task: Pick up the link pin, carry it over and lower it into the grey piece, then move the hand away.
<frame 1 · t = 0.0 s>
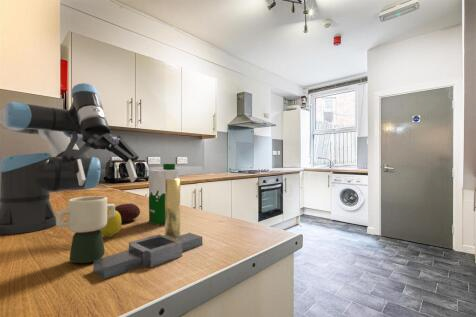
hand: (110, 181, 66), 15 cm above the counter, tool tilted 35°, fingers open, 13 cm apart
lemon: (110, 238, 65), on the counter
potato: (126, 222, 82), on the counter
grey piece: (155, 256, 52), on the counter
character mug: (87, 261, 50), on the counter
milk carton: (162, 222, 82), on the counter
link pin: (172, 237, 65), on the counter
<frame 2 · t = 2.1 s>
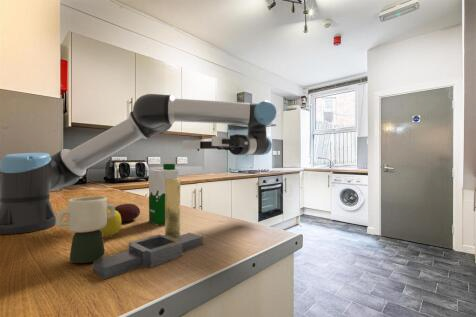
hand: (197, 142, 72), 27 cm above the counter, tool horizontal, fingers open, 13 cm apart
nothing on the counter moved.
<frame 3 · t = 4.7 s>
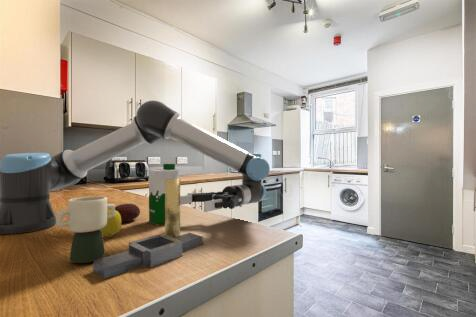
hand: (188, 203, 68), 9 cm above the counter, tool horizontal, fingers open, 13 cm apart
nothing on the counter moved.
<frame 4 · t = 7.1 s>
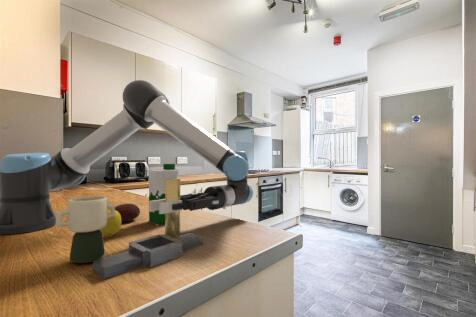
hand: (155, 207, 61), 9 cm above the counter, tool horizontal, fingers closed on link pin, 4 cm apart
link pin: (172, 237, 65), on the counter, touching gripper
everything else where it was.
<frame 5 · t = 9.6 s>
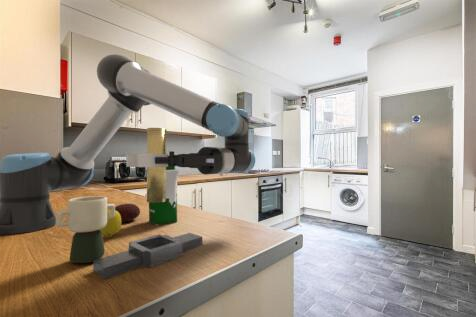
hand: (132, 160, 48), 21 cm above the counter, tool horizontal, fingers closed on link pin, 4 cm apart
link pin: (156, 201, 52), point 12 cm above the counter, touching gripper
everything else where it was.
when the fingers open (10 cm above the counter, at t = 12.2 s): link pin stays where it is, resting in grey piece.
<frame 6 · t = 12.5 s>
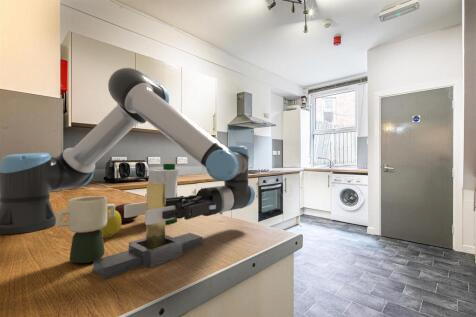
hand: (134, 214, 49), 10 cm above the counter, tool horizontal, fingers open, 8 cm apart
link pin: (155, 256, 52), resting in grey piece
everything else where it was.
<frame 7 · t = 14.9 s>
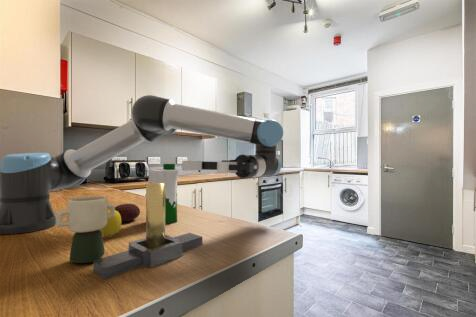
hand: (199, 166, 61), 20 cm above the counter, tool horizontal, fingers open, 13 cm apart
nothing on the counter moved.
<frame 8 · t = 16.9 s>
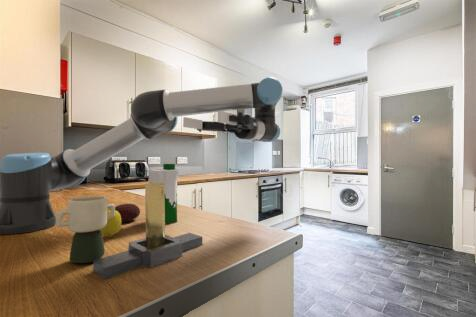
hand: (200, 119, 62), 32 cm above the counter, tool horizontal, fingers open, 13 cm apart
nothing on the counter moved.
at the end: link pin 0.0 cm off-centre on the grey piece, point 0.0 cm above the grey piece's base; link pin tilted 1°; the gripper is holding nothing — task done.
